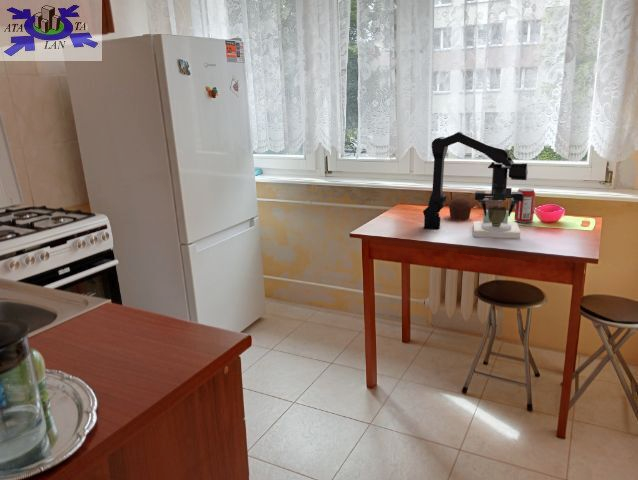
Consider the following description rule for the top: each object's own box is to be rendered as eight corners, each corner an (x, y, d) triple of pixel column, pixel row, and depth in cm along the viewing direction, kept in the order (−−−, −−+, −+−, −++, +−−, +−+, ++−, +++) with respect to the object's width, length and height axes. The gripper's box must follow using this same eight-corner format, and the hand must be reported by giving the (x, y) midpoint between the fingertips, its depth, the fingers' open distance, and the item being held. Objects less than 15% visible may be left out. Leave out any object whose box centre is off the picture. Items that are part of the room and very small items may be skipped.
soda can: (523, 224, 217) (526, 191, 213) (510, 220, 224) (512, 188, 220) (536, 222, 220) (539, 189, 216) (523, 218, 227) (525, 186, 223)
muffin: (475, 220, 227) (476, 199, 224) (451, 221, 227) (452, 200, 225) (468, 214, 239) (469, 194, 236) (445, 215, 239) (446, 195, 236)
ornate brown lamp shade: (506, 228, 201) (508, 209, 199) (488, 228, 203) (489, 209, 200) (503, 223, 208) (505, 205, 206) (485, 223, 210) (486, 205, 207)
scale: (473, 236, 203) (474, 218, 201) (473, 226, 218) (474, 209, 215) (520, 238, 198) (521, 220, 196) (516, 228, 213) (517, 211, 210)
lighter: (501, 214, 235) (503, 194, 233) (500, 216, 233) (501, 195, 230) (484, 213, 240) (485, 193, 237) (482, 214, 237) (484, 194, 234)
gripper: (476, 182, 195) (474, 220, 199) (526, 182, 190) (523, 221, 194) (475, 177, 205) (473, 213, 210) (523, 178, 200) (520, 215, 204)
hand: (497, 216), depth 204 cm, fingers open, 9 cm apart
